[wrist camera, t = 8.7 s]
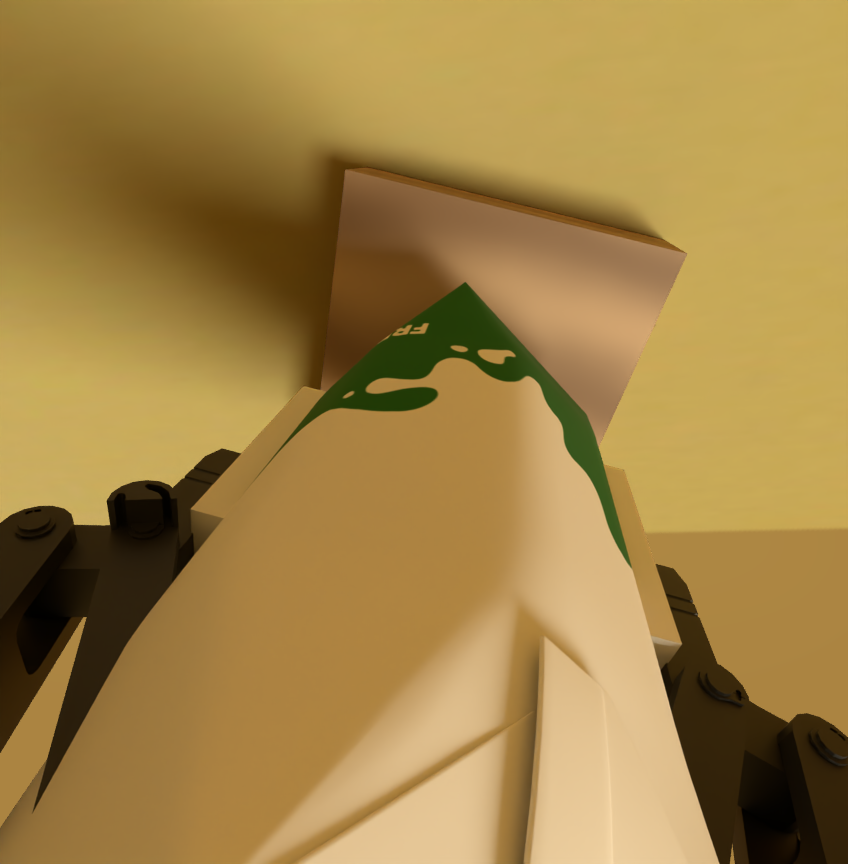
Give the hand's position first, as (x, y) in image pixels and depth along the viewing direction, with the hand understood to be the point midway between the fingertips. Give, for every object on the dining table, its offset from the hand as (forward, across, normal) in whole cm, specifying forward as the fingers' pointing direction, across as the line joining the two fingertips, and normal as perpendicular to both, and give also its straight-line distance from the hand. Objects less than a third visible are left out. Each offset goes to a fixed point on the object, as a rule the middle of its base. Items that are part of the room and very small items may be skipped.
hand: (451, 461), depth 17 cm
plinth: (+12, 0, 0) cm, 12 cm away
